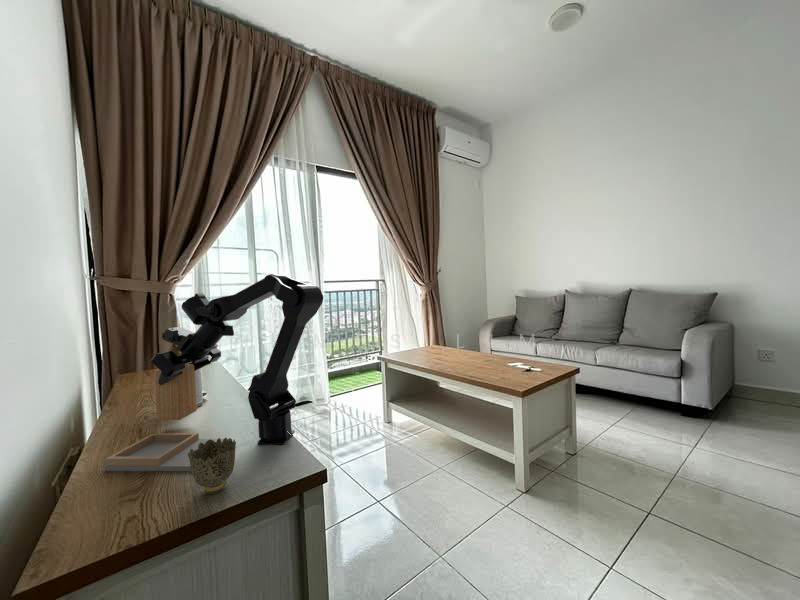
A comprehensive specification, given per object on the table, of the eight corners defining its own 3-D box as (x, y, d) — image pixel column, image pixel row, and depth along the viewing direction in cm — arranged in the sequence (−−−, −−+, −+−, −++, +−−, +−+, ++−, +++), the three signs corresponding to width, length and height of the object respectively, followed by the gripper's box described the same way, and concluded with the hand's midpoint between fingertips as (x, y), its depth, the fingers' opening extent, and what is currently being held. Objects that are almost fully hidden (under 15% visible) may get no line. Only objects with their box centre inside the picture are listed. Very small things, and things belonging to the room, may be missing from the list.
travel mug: (196, 409, 101) (192, 345, 101) (175, 410, 101) (171, 346, 101) (208, 402, 108) (204, 342, 107) (188, 403, 108) (184, 343, 107)
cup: (217, 505, 54) (214, 458, 54) (180, 501, 56) (177, 455, 55) (247, 479, 62) (244, 437, 61) (213, 476, 63) (210, 436, 63)
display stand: (232, 442, 77) (231, 432, 77) (196, 471, 65) (196, 458, 65) (153, 443, 79) (152, 433, 79) (105, 471, 67) (104, 459, 67)
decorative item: (155, 421, 83) (150, 343, 83) (175, 411, 90) (170, 339, 89) (180, 420, 83) (175, 342, 82) (198, 410, 90) (193, 338, 89)
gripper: (208, 313, 95) (175, 352, 96) (155, 319, 76) (115, 368, 77) (236, 339, 94) (202, 378, 96) (189, 351, 76) (149, 399, 77)
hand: (170, 380), depth 86 cm, fingers closed on decorative item, 7 cm apart
